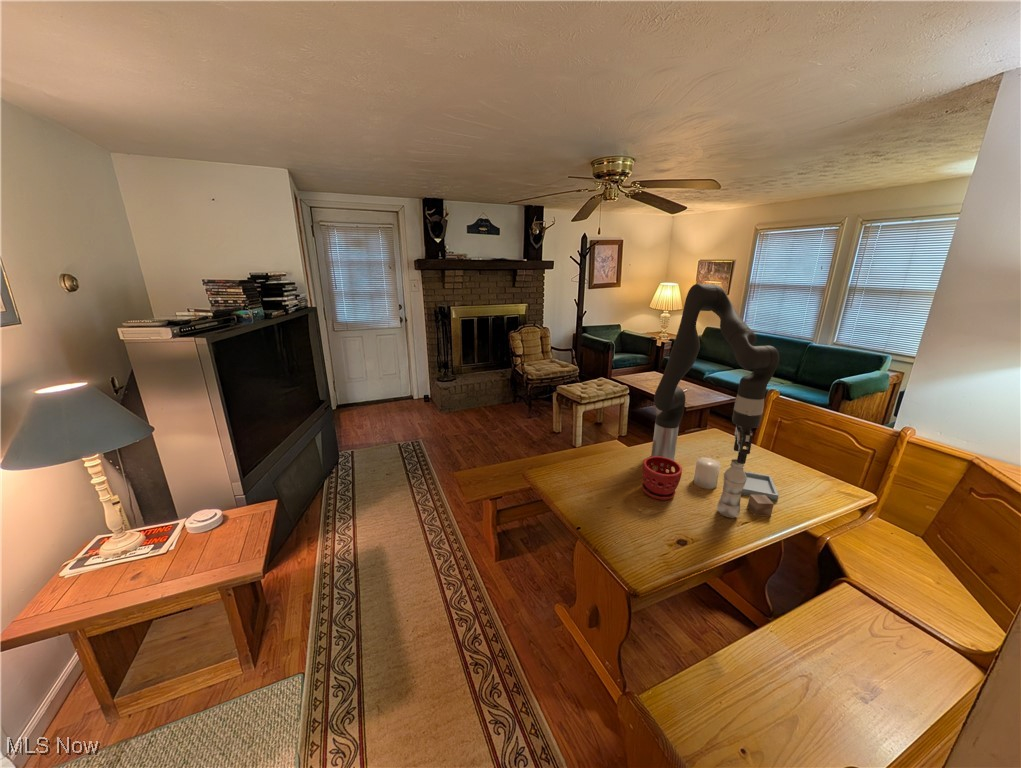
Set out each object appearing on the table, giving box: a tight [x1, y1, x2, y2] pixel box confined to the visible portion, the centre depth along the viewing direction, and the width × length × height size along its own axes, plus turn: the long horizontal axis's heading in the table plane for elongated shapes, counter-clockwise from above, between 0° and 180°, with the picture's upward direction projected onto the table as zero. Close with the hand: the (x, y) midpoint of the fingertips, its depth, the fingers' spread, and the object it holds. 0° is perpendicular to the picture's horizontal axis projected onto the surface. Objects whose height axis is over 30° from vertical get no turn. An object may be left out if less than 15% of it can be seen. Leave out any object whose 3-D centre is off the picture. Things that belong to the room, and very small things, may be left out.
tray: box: [741, 470, 780, 502], centre depth 141 cm, size 14×14×2 cm
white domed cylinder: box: [693, 456, 721, 490], centre depth 143 cm, size 8×8×9 cm
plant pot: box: [641, 456, 683, 501], centre depth 136 cm, size 13×13×12 cm
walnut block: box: [747, 494, 775, 517], centre depth 127 cm, size 5×5×5 cm
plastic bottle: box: [717, 458, 747, 519], centre depth 123 cm, size 6×7×20 cm
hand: (739, 456), depth 120 cm, fingers open, 8 cm apart
